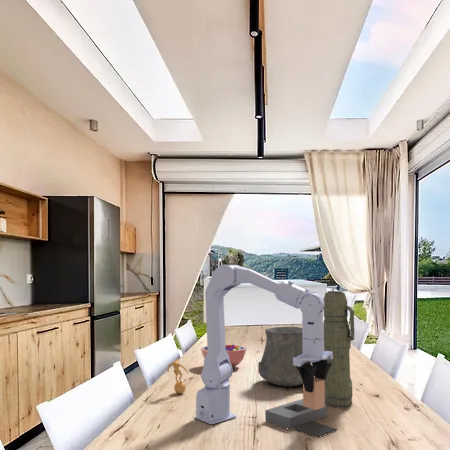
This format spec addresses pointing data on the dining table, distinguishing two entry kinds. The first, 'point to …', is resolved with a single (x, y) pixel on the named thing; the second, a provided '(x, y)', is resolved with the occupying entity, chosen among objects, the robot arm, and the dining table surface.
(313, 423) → the coaster
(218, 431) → the dining table surface
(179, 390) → the figurine
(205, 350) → the cell model
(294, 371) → the vessel
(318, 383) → the terracotta block
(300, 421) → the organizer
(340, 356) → the thermos
